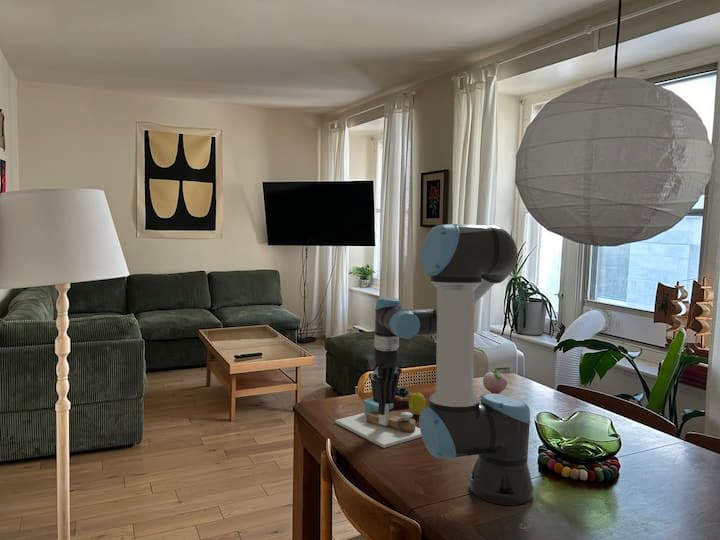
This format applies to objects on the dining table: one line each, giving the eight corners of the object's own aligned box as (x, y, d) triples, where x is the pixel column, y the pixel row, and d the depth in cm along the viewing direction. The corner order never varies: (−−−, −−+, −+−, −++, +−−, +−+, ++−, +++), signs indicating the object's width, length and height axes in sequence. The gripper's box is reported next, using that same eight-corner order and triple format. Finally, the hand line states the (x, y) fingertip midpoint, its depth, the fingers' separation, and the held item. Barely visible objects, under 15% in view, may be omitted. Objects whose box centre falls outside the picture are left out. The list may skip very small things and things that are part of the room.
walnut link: (418, 428, 178) (418, 420, 178) (410, 433, 173) (410, 425, 173) (374, 417, 186) (374, 410, 186) (365, 422, 181) (365, 414, 181)
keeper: (392, 421, 186) (393, 403, 186) (378, 425, 183) (379, 407, 182) (376, 414, 193) (376, 396, 192) (362, 417, 189) (362, 399, 189)
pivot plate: (427, 435, 176) (428, 416, 175) (384, 447, 165) (384, 427, 165) (377, 412, 195) (378, 395, 194) (335, 422, 184) (335, 404, 183)
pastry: (375, 401, 207) (376, 385, 206) (403, 397, 213) (403, 381, 212) (392, 411, 197) (393, 394, 197) (420, 406, 204) (421, 390, 203)
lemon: (424, 412, 196) (425, 389, 195) (424, 418, 191) (425, 394, 190) (408, 411, 197) (409, 388, 196) (408, 417, 191) (409, 393, 190)
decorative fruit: (478, 391, 222) (479, 366, 221) (497, 390, 224) (499, 365, 223) (489, 399, 213) (490, 372, 212) (509, 398, 215) (511, 372, 214)
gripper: (381, 353, 169) (378, 432, 170) (409, 348, 178) (406, 422, 180) (363, 349, 174) (360, 425, 176) (391, 343, 183) (388, 416, 185)
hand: (383, 423), depth 178 cm, fingers closed
